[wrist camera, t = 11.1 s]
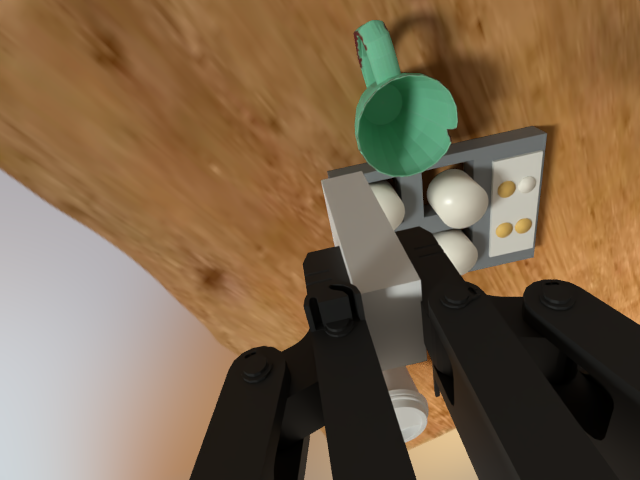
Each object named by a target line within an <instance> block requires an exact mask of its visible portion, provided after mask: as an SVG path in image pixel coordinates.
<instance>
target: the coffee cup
mask: <svg viewBox="0 0 640 480" xmlns="http://www.w3.org/2000/svg"><path fill="white" fill-rule="evenodd" d="M382 373H383V376H384V379H385V382H386V385H387V388H388V391H389V395H390V398H391V401H392V404H393V407H394V410H395V413H396V417H397V420H398V423H399V426H400V429H401V432H402V435H403V439H404V442H408V441H410V440H412V439H414V438H416V437H417V436H418V435H420V434H421V433H422V432H423V430H424V429H425V427H426V425H427V417H428V403H427V400H426V398H425V397H424V396H423V395H422V394H420V393H419V392H418V390H417V388H416V386H415V384H414V382H413V380H412V378H411V376H410V374H409V372H408V370H407V368H406V366H402V367H397V368H393V369H389V370H384V371H382Z"/></svg>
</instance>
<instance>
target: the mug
mask: <svg viewBox="0 0 640 480" xmlns="http://www.w3.org/2000/svg"><path fill="white" fill-rule="evenodd" d="M354 38H355V44H356V50H357V56H358V60H359V63H360V67H361V70H362V73H363V77H364V80H365V83H366V87H367V89H366V90H365V91H364V93H363V94H362V96H361V98H360V100H359V103H358V105H357V108H356V118H355V135H356V140H357V144H358V148H359V150H360V152H361V154H362V155H363V157H364V158H365V160H366V162H367V163H368V164H369V165H370V166H371V167H373V168H374V169H375V170H377V171H378V172H379V173H382V174H385V175H388V176H391V177H409V176H412V175H416V174H419V173H422V172H424V171H425V170H427V169H429V168H430V167H432V166H433V165H435V164H436V163H437V162H438V161H439V160H440V159H441V158H442V157H443V156H444V155H445V154H446V152H447V151H448V149H449V147H450V145H451V143H452V142H451V137H450V136H449V133H448V129H456V128H457V124H458V115H457V106H456V103H455V101H454V99H453V97H452V95H451V92H450V91H449V90H448V89H447V88H446V87H445V86H444V85H443V84H442V83H441V82H440V81H438V80H436V79H434V78H431V77H429V76H426V75H424V74H421V73H401V72H400V68H399V64H398V61H397V57H396V54H395V50H394V47H393V44H392V40H391V37H390V34H389V31H388V30H387V28H386V26H385V24H384V22H383V21H379V20H372V21H369V22H367V23H366V24H364V25H362V26H360V27H359V28H358V29H357V30H356V31H355V32H354Z"/></svg>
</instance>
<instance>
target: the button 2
mask: <svg viewBox="0 0 640 480" xmlns="http://www.w3.org/2000/svg"><path fill="white" fill-rule="evenodd" d="M368 184H369V185H370V187H371V189H372V191H373V193H374V195H375V197H376V198H377V200H378V202H379V204H380V206H381V208H382V209H383V211H384V213H385V215H386V217H387V219H388V221H389V222H390V224H391V226H392V228H393V230H395V229H396V228H397V227H398V226H399V225H400V224H401V222H402V221H403V218H404V215H405V207H404V204H403V202H402V201H401V199H400V198H399V196H398V195H397V193H396V192H395V190H394V189H393V187H392V186H391V184H390V183H389V182H388V181H386V180H380V181H375V182H371V183H368Z"/></svg>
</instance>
